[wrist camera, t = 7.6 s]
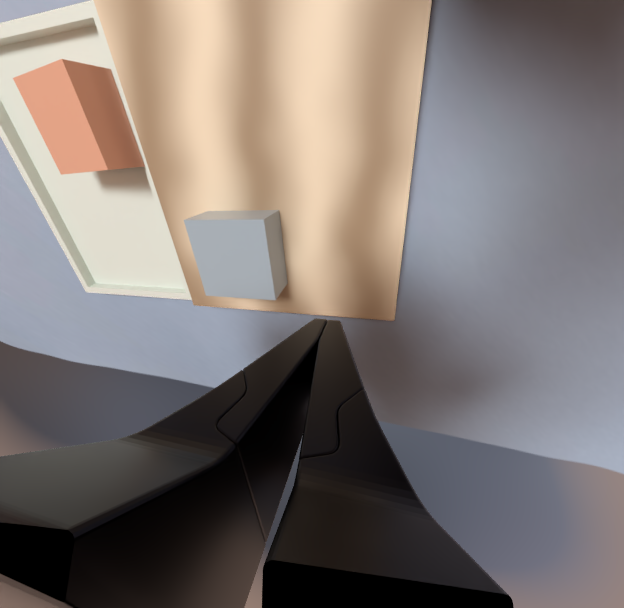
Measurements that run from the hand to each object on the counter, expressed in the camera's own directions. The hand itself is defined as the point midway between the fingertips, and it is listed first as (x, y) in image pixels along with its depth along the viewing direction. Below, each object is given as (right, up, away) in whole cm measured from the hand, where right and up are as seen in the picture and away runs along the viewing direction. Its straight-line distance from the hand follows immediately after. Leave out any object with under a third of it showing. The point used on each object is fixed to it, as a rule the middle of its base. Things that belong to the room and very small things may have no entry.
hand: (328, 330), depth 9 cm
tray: (-17, +10, +12) cm, 23 cm away
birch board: (-3, +9, +9) cm, 13 cm away
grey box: (-5, +5, +9) cm, 11 cm away
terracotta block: (-14, +13, +9) cm, 21 cm away
